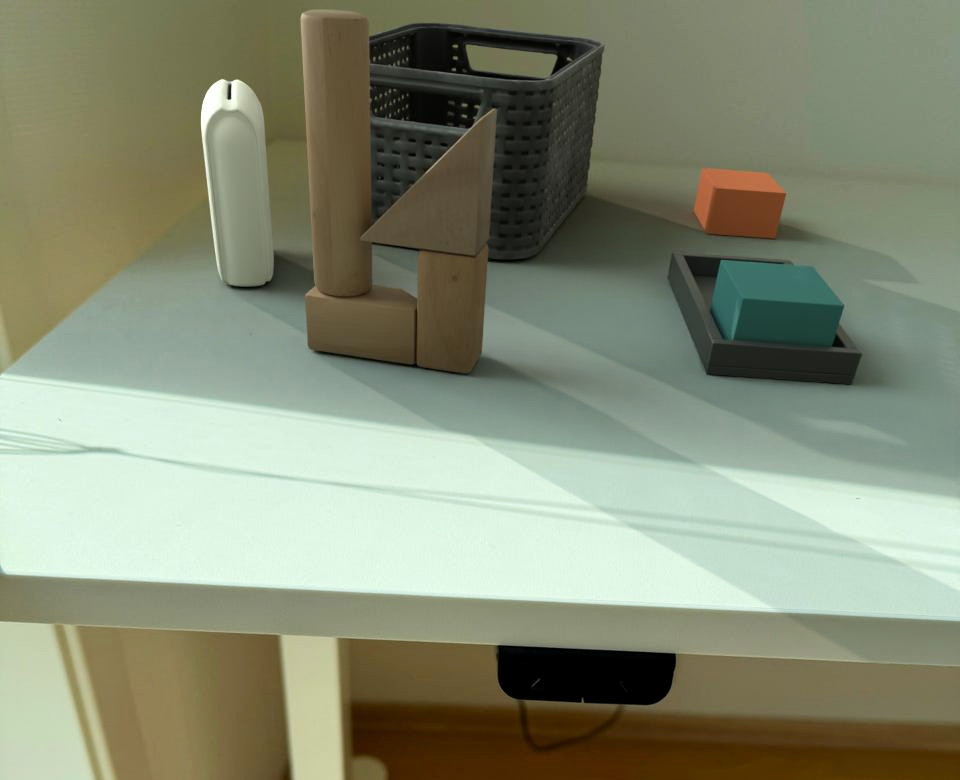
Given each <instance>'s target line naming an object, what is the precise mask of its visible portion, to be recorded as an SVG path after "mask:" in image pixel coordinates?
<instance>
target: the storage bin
mask: <svg viewBox="0 0 960 780" xmlns="http://www.w3.org/2000/svg"><path fill="white" fill-rule="evenodd" d="M467 45H468V46H476V47H483V48H484V47H485V48H493V49H500V50H510V51H520V52H528V53H537V54H544V55H554V56H556V60H555V62H554V64H553V68H552V70H551V72H550V75H548V77H541V76H532V75H523V74H517V73H507V72H499V71H498V72H497V71H490V70H481V69H474V68H473V67H472V66H471V63H470V60H469V55H468V51H467ZM455 46H457V47H455ZM604 53H605V43H604V42H603V41H600V40H596V39H591V38H588V37H587V38H586V37H578V36H568V35H560V34H548V33H541V32H530V31H520V30H511V29H504V28H494V27H484V26H476V25H467V24H459V23H450V22H413V23H407V24H403V25H400V26H397V27H393V28H389V29H387V30H384V31H380V32H377V33H373V34H371V35H370V34H369V67H370V142H371V216H372V225H373V224H374V223H375V222H376V221H377V220H379V219H380V218H381V217H382V216H383V215H384V214H385V213H386V212H387V211H388V210H389V209H390V208H391V207H392V206H393V205H394V204H395V203H396V202H397V201H398V200H399V199H400V198H401V197H402V196H403V195H404V194H405V193H406V192H407V191H408V190H409V189H410V188H411V187H412V186H413V185H414V184H415V183H416V182H417V181H418V180H419V179H420V178H421V177H422V176H423V175H424V174H425V173H426V172H427V171H428V170H429V169H430V168H431V167H432V166H433V165H434V164H435V163H436V162H437V161H438V160H439V159H440V158H441V157H442V156H443V155H444V154H445V153H446V152H447V151H448V150H449V149H450V148H451V147H452V146H453V145H454V144H455V143H456V142H457V141H458V140H459V139H460V138H461V137H462V136H463V135H464V134H465V133H466V132H467V131H468V130H469V129H470V128H471V127H472V126H473V125H474V124H475V123H476V122H477V121H478V120H479V119H480V118H482V117H483V116H484V115H486V114H487V113H488V112H490V111H491V110H492V109H496V110H497V118H496V134H495V149H494V165H493V181H492V197H491V212H490V228H489V239H488V240H487V242H486V243H487V245H488V261H493V260H520V259H527V258H531V257H534V256H535V255H537V254H538V253H539V252H540V251H541V250H542V249H543V248H544V247H545V245H546V244H547V242H548V241H549V240H550V239H551V237H552V236H553V235H554V233H555V232H556V231H557V230H558V228H560V226H561V225H562V224H563V222H564V221H565V220H566V219H567V217H568V216H569V215H570V213H571V212H572V211H573V209H574V208H575V207H576V206H577V204H578V203H579V202H580V201H581V199H582V198H583V197H584V196H585V194H586V193H587V192H588V181H589V170H590V167H591V157H592V152H591V151H592V147H593V143H594V139H593V138H594V131H595V130H594V127H595V124H596V114H597V103H598V100H599V89H600V77H601V75H602V64H603V54H604ZM455 57H457V59H455ZM568 58H569V59H568ZM454 69H455V70H454ZM464 105H466V106H464ZM475 106H479V107H475ZM464 116H466V117H464ZM401 248H404V247H403V246H401ZM407 248H408V249H409V248H410V249H412V248H411V247H407ZM414 249H416V250H420V249H419V248H414Z"/></svg>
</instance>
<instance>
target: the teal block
mask: <svg viewBox="0 0 960 780" xmlns="http://www.w3.org/2000/svg"><path fill="white" fill-rule="evenodd" d="M844 309H845V304H844V303H843V302H842V301H841V300H840V297H838V295H837V294H836V293H835V292H834V290H833V289H832V288H831V287H830V286H829V284H827V282H826V281H825V280H824V278H823V277H822V276H821V275H820V274H819V272H818V271H817V270H816V269H815V268H814V266H810V265H798V264H796V265H795V264H794V265H785V264H772V263H758V262H744V261H730V260H721V262H720V266H719V271H718V276H717V280H716V285H715V289H714V294H713V299H712V303H711V308H710V313H711V315H712V317H713V319H714V321H715V324H716V326H717V328H718V330H719V332H720V334H721V336H722V338H723V339H725V340H739V341H753V342H767V343H781V344H795V345H810V346H824V347H832V344H833V341H834V338H835V335H836V331H837V328H838V325H839V324H840V322H841V318H842V316H843V315H842V314H843V311H844Z"/></svg>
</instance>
